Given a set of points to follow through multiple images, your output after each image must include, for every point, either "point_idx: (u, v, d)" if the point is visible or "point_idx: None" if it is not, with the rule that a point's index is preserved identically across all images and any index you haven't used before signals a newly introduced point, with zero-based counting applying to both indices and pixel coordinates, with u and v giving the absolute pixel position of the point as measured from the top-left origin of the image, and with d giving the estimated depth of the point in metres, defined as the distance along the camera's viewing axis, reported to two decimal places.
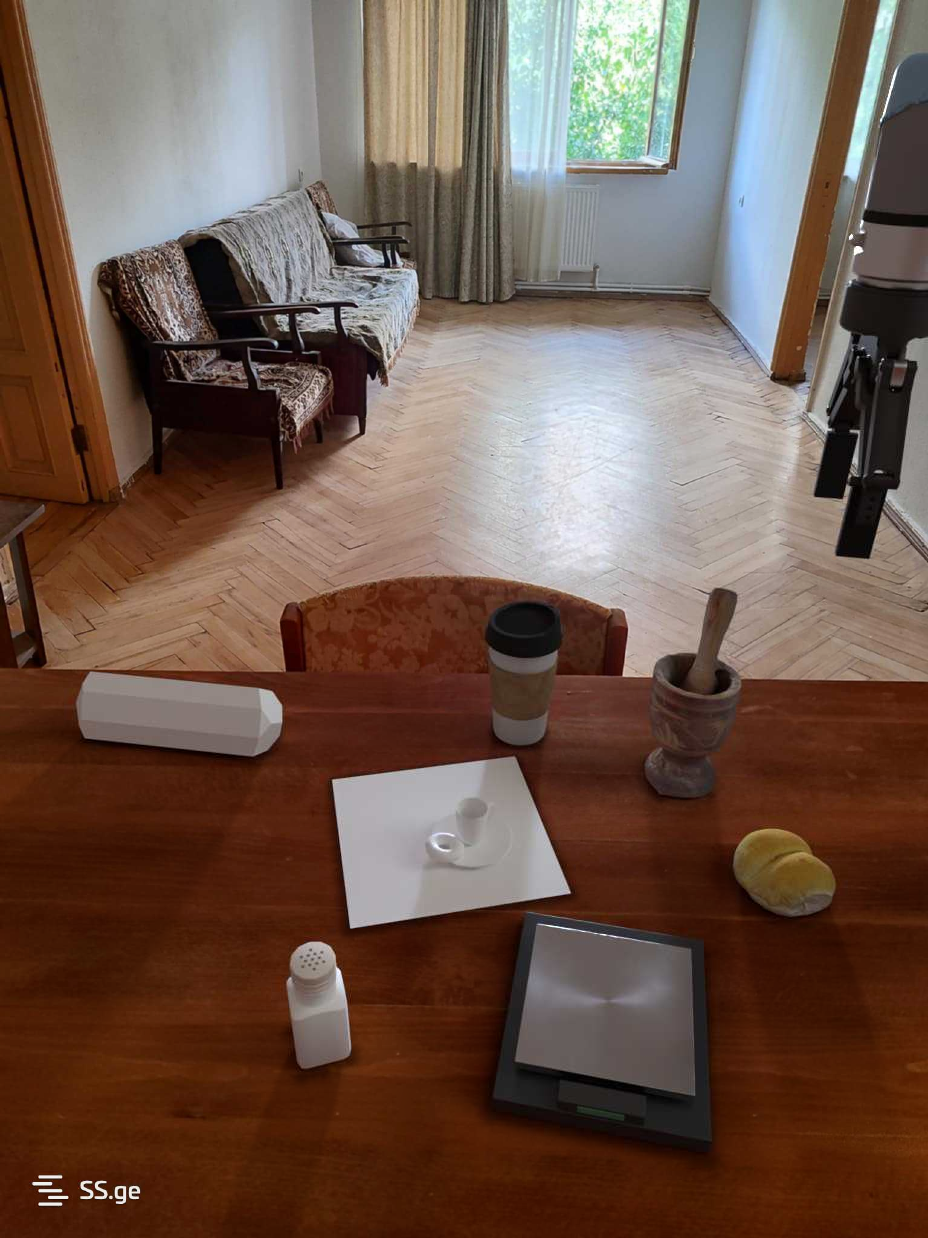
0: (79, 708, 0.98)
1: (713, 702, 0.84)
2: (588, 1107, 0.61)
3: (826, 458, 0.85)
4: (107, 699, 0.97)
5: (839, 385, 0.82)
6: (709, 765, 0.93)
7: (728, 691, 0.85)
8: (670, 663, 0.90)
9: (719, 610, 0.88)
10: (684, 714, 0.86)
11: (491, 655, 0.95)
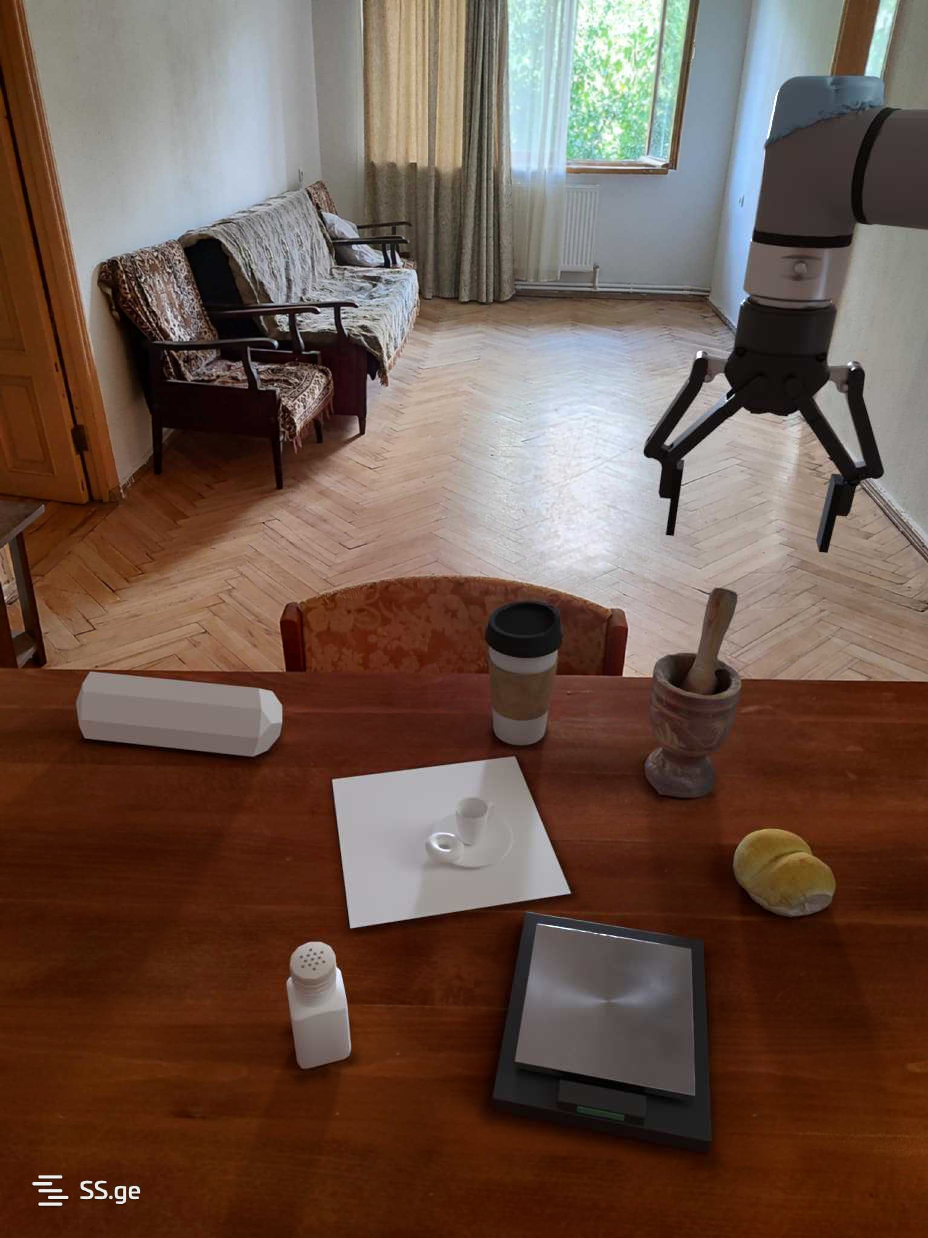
0: (79, 708, 0.98)
1: (713, 702, 0.84)
2: (588, 1107, 0.61)
3: None
4: (107, 699, 0.97)
5: None
6: (709, 765, 0.93)
7: (728, 691, 0.85)
8: (670, 663, 0.90)
9: (719, 610, 0.88)
10: (684, 714, 0.86)
11: (491, 655, 0.95)
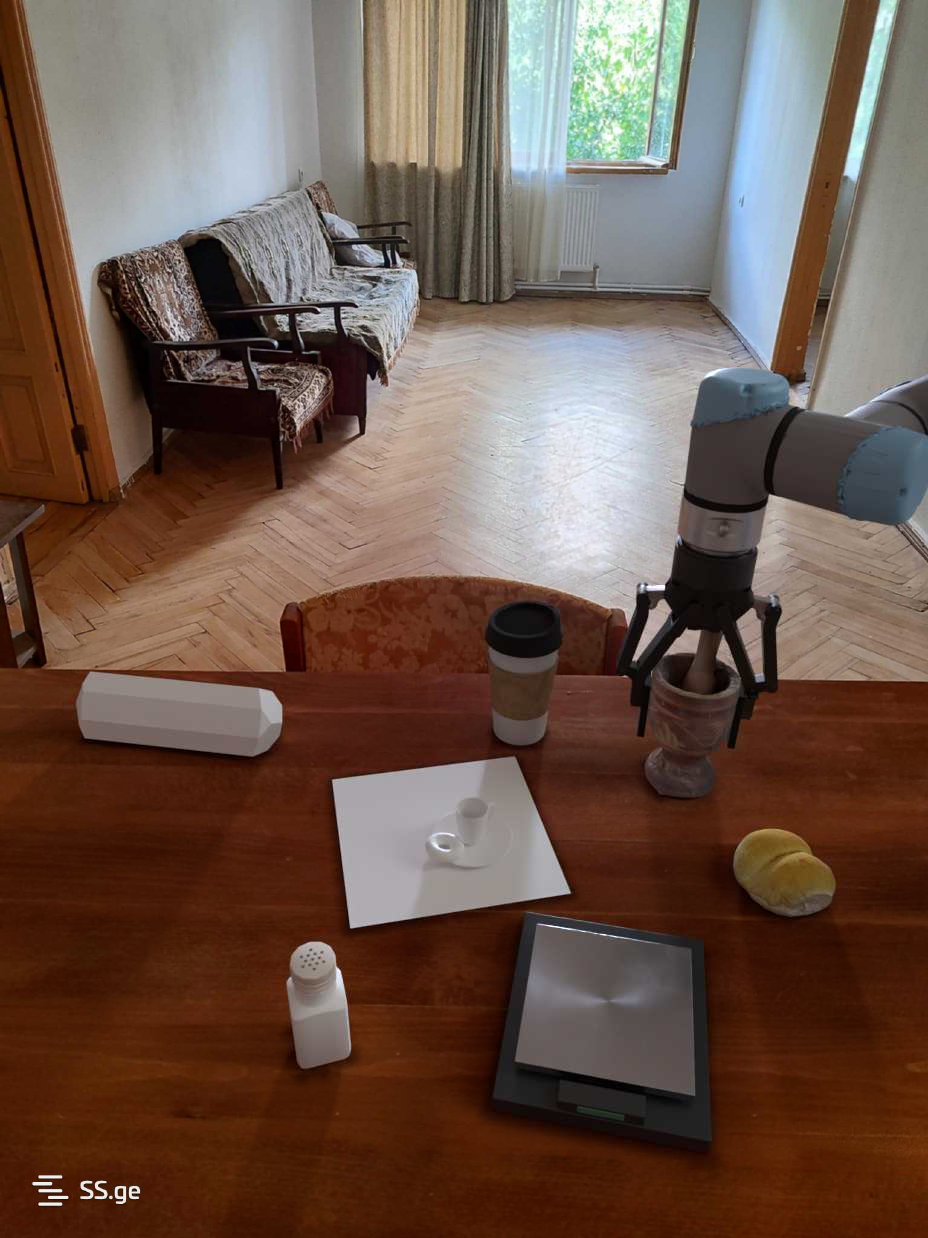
0: (79, 708, 0.98)
1: (712, 702, 0.84)
2: (588, 1107, 0.61)
3: None
4: (107, 699, 0.97)
5: (638, 643, 0.88)
6: (709, 765, 0.92)
7: (727, 690, 0.85)
8: (669, 663, 0.90)
9: None
10: (683, 714, 0.86)
11: (491, 655, 0.95)
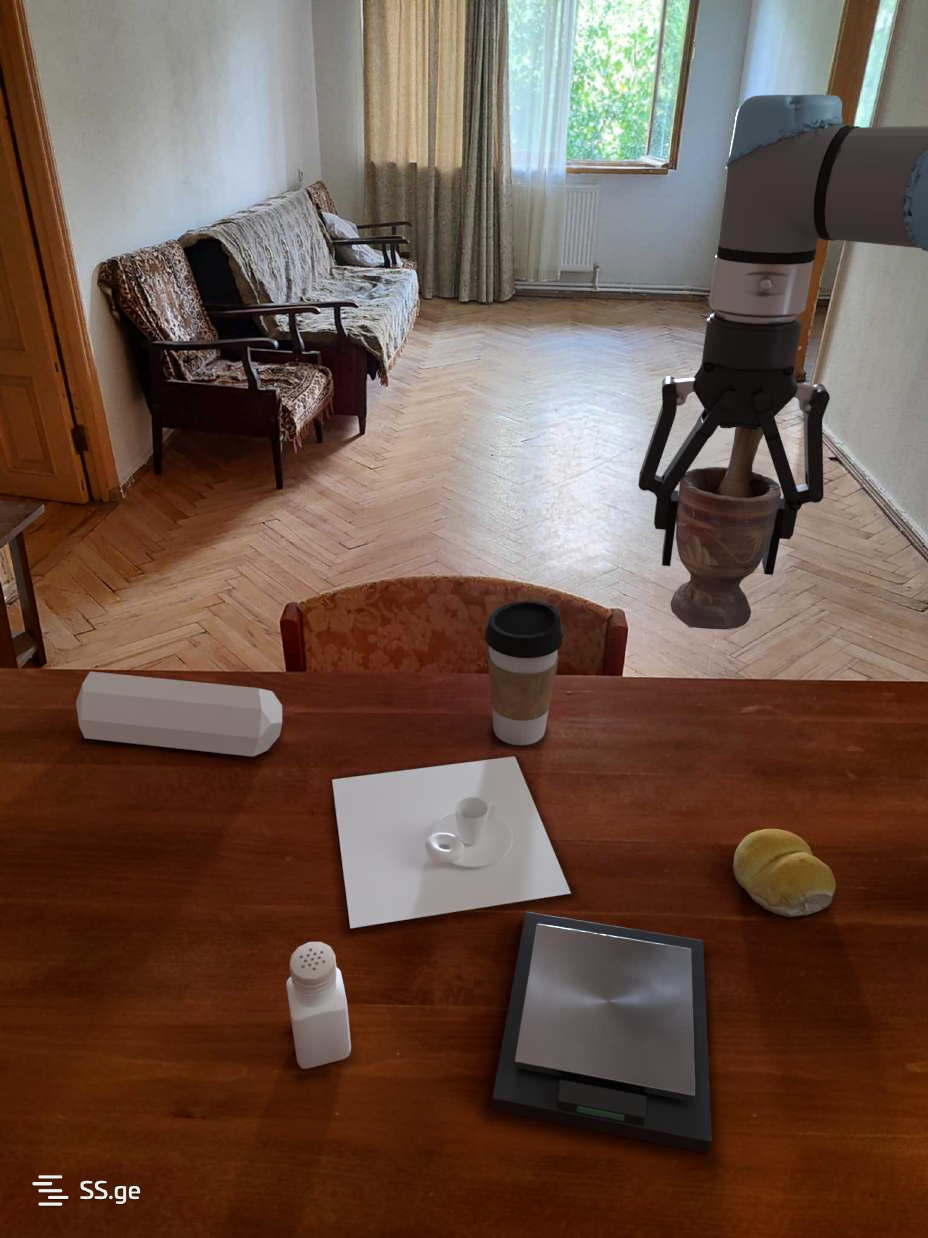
0: (79, 708, 0.98)
1: (750, 505, 0.74)
2: (588, 1107, 0.61)
3: None
4: (107, 699, 0.97)
5: (664, 448, 0.78)
6: (744, 595, 0.82)
7: (766, 495, 0.75)
8: (699, 475, 0.80)
9: None
10: (716, 522, 0.75)
11: (491, 655, 0.95)
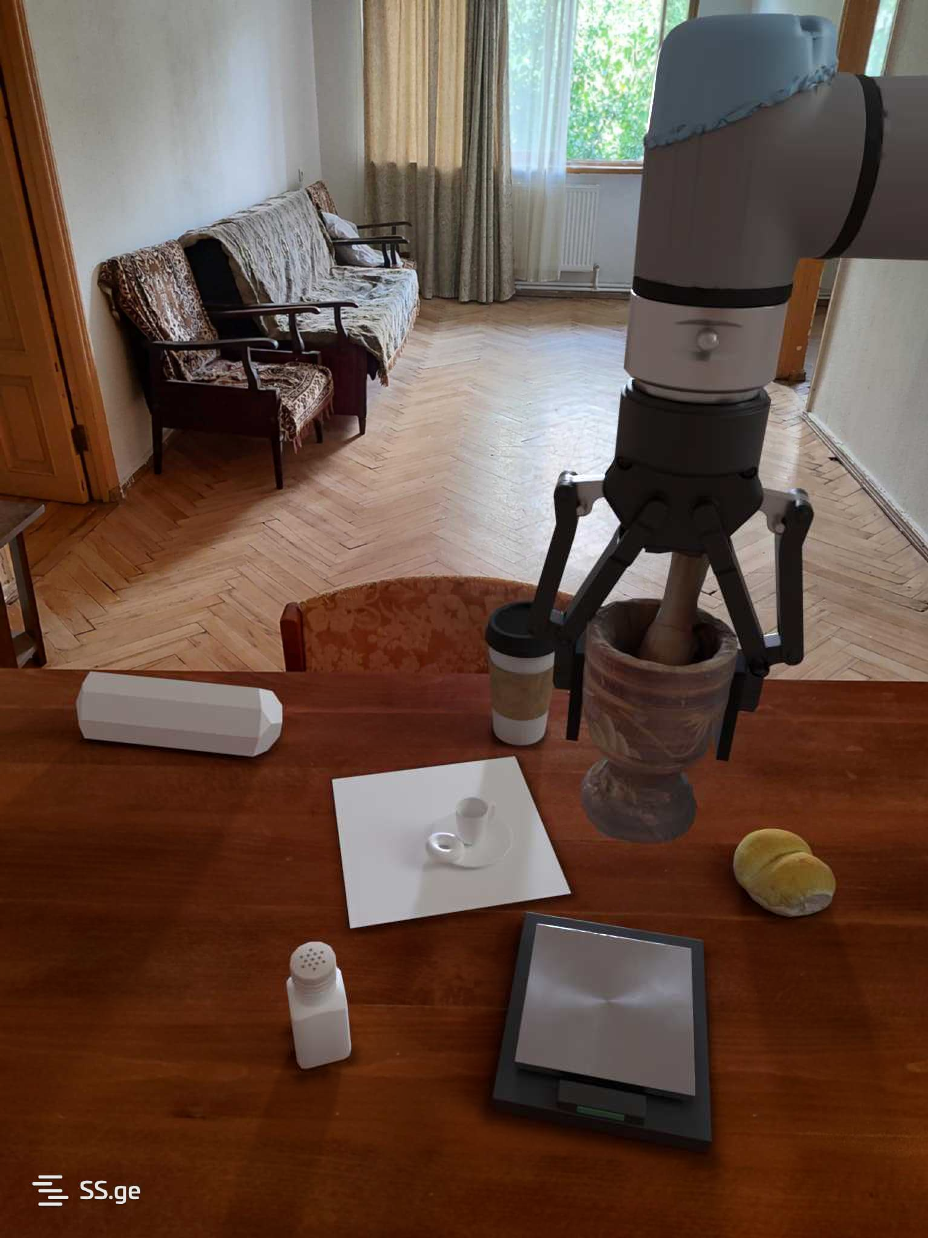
0: (79, 708, 0.98)
1: (687, 678, 0.47)
2: (588, 1107, 0.61)
3: None
4: (107, 699, 0.97)
5: None
6: (686, 787, 0.55)
7: (714, 659, 0.48)
8: (617, 614, 0.53)
9: None
10: (637, 700, 0.48)
11: (491, 655, 0.95)
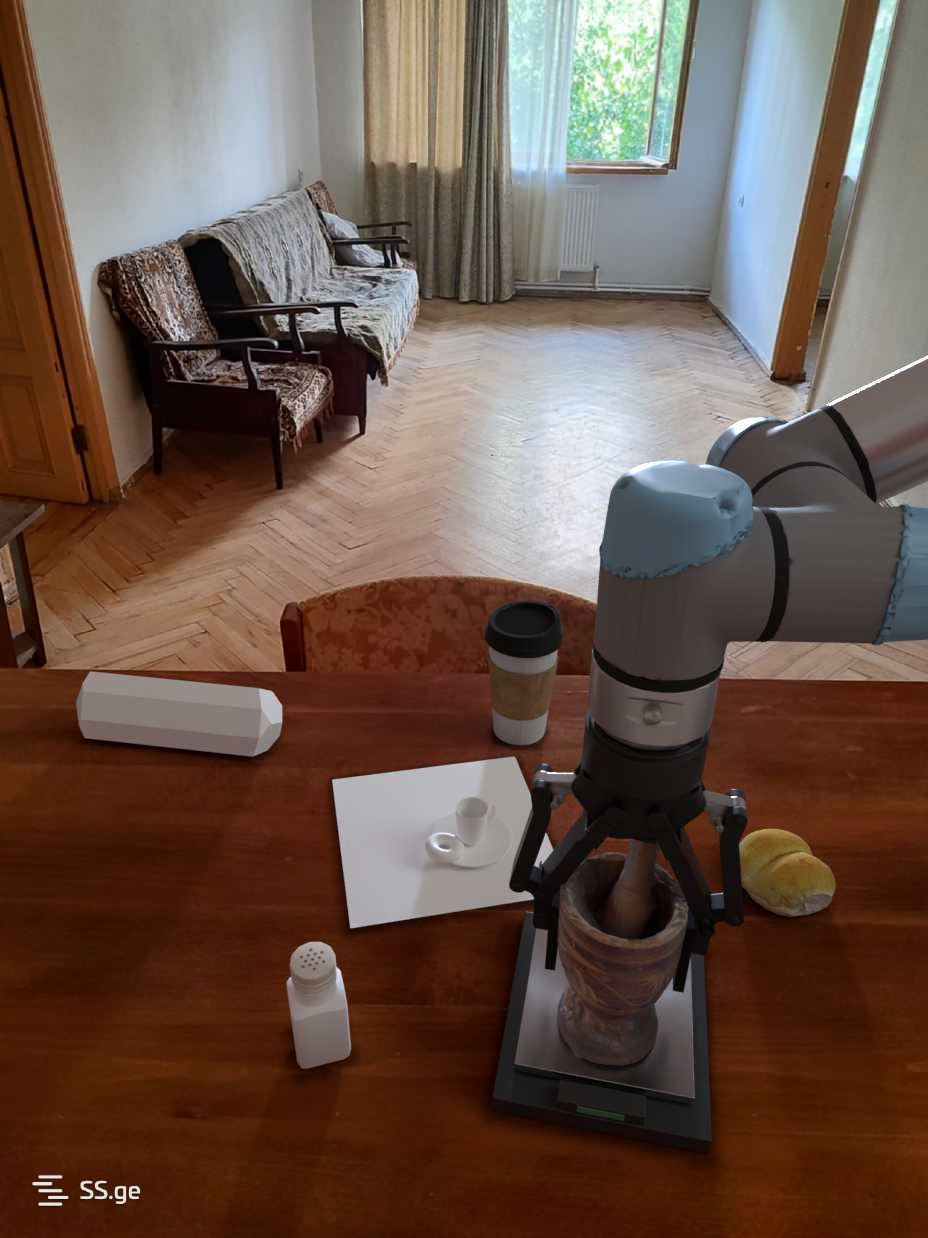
0: (79, 708, 0.98)
1: (643, 952, 0.56)
2: (588, 1107, 0.61)
3: None
4: (107, 699, 0.97)
5: (538, 852, 0.60)
6: (648, 1012, 0.64)
7: (667, 931, 0.57)
8: (587, 872, 0.62)
9: None
10: (602, 965, 0.57)
11: (491, 655, 0.95)
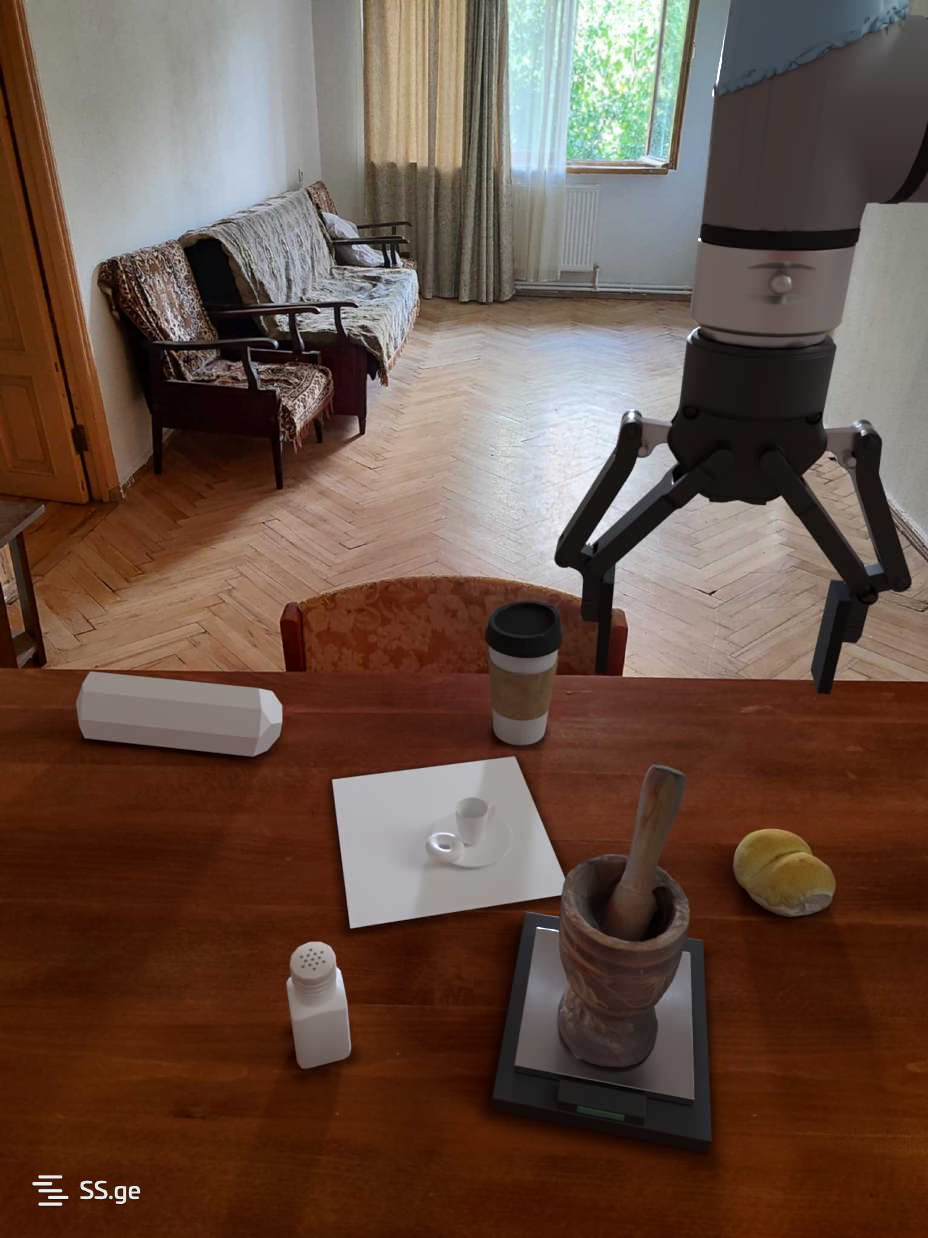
0: (79, 708, 0.98)
1: (645, 954, 0.56)
2: (588, 1107, 0.61)
3: None
4: (107, 699, 0.97)
5: None
6: (648, 1013, 0.64)
7: (668, 933, 0.57)
8: (589, 874, 0.62)
9: (658, 803, 0.60)
10: (603, 967, 0.57)
11: (491, 655, 0.95)
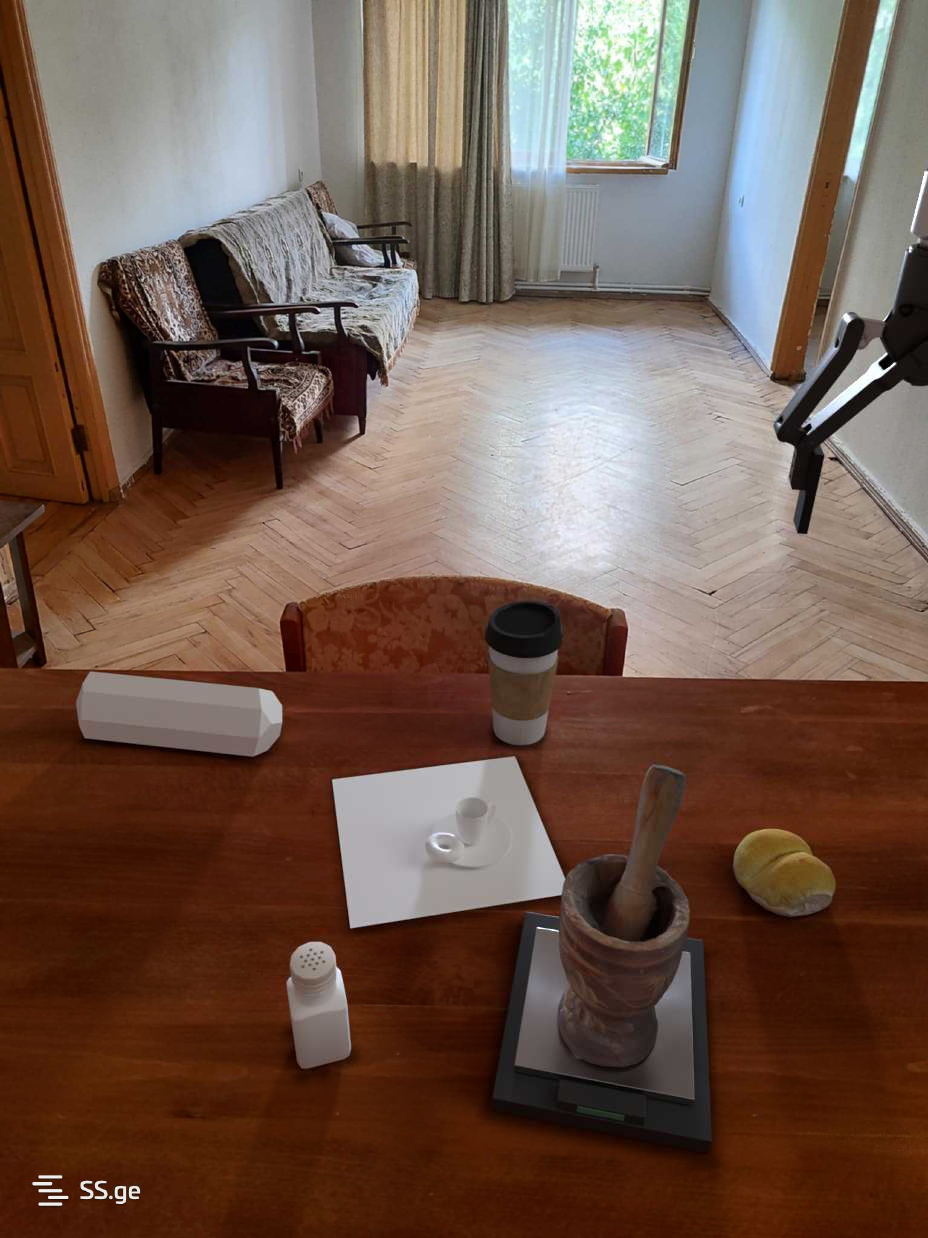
0: (79, 708, 0.98)
1: (645, 954, 0.56)
2: (588, 1107, 0.61)
3: None
4: (107, 699, 0.97)
5: None
6: (648, 1013, 0.64)
7: (668, 933, 0.57)
8: (589, 874, 0.62)
9: (658, 803, 0.60)
10: (603, 967, 0.57)
11: (491, 655, 0.95)
